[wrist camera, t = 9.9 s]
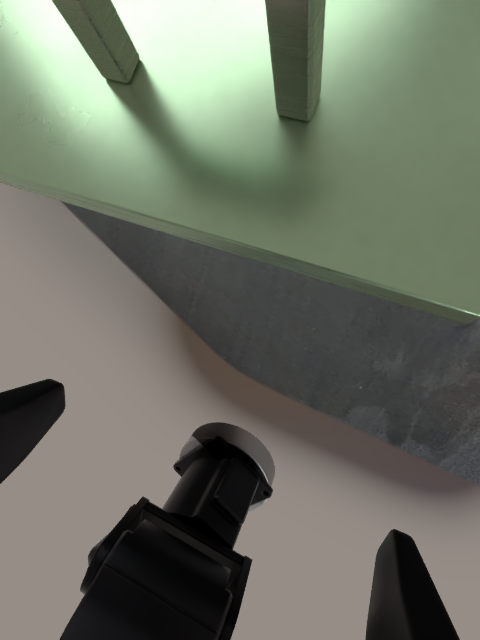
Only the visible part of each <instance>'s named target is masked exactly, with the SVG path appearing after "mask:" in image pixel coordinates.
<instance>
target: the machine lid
mask: <svg viewBox="0 0 480 640" xmlns="http://www.w3.org/2000/svg"><path fill="white" fill-rule="evenodd" d="M0 182H1V183H4V184H7V185H10V186H14V187H17V188H20V189H24V190H27V191H30V192H33V193H37V194H40V195H44V196H47V197H50V198H53V199H56V200H60V201H63V202H66V203H69V204H73V205H76V206H79V207H83V208H86V209H89V210H92V211H96V212H99V213H102V214H106V215H109V216H112V217H115V218H119V219H122V220H125V221H128V222H132V223H135V224H138V225H142V226H145V227H148V228H151V229H155V230H158V231H161V232H164V233H168V234H171V235H174V236H178V237H181V238H184V239H187V240H191V241H194V242H197V243H201V244H204V245H207V246H210V247H214V248H217V249H220V250H223V251H227V252H230V253H233V254H237V255H240V256H243V257H246V258H250V259H253V260H256V261H260V262H263V263H266V264H269V265H273V266H276V267H279V268H282V269H286V270H289V271H292V272H296V273H299V274H302V275H305V276H309V277H312V278H315V279H319V280H322V281H325V282H328V283H332V284H335V285H338V286H341V287H345V288H348V289H351V290H355V291H358V292H361V293H364V294H368V295H371V296H374V297H377V298H381V299H384V300H387V301H391V302H394V303H397V304H400V305H404V306H407V307H410V308H414V309H417V310H420V311H423V312H427V313H430V314H433V315H436V316H440V317H443V318H446V319H450V320H453V321H456V322H459V323H463V324H465V323H468V322H471V321H474V320H477V319H479V318H480V0H0Z"/></svg>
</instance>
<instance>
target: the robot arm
mask: <svg viewBox="0 0 480 640" xmlns="http://www.w3.org/2000/svg"><path fill="white" fill-rule="evenodd" d="M64 409H65V392H64V386H63V384H62V383H59V382H57V381H55V380H52V379H46V380H43V381H39V382H36V383H32V384H29V385H25V386H22V387H19V388H15V389H12V390H8V391H5V392H1V393H0V484H1V483H2V481H4V480H5V479H6V478H7V477H8V476H9V475H10V474H11V473H12V472H13V471H14V470H15V468H17V466H19V464H20V463H21V462H22V461H23V460H24V459H25V458H26V457H27V456H28V455H29V453H30V452H31V451H32V450H33V449H34V447H35V446H36V445H37V444H38V443H39V441H40V440H41V439H42V438H43V436H44V435H45V434H46V433H47V432H48V430H49V429H50V428H51V427H52V425H53V424H54V423H55V422H56V421H57V419H58V418H59V417H60V416H61V414H62V413H63V411H64ZM218 442H219V443H218ZM174 469H175V471H176V472H177V473H178V474H179V475H180V476H181V479H180V481H179V483H178V484H177V486H176V487H175V489H174V490H173V492H172V494H171V495H170V497H169V499H168V500H167V502H166V503H165V505H164V507H163V508H162V509H161V508H159V507H158V506H156V505H154V504H152V503H151V502H149V500H148V499H147V498H145V497H142V498H141V499H140V500H139V502H138V503H137V504H136V505H135V504H134V505H133V506H131V507H130V508H129V510H128V511H127V513H126V514H125V515H124V517H123V518H122V519H121V520H120V521H119V523H118V524H117V525H116V526H115V528H114V529H113V530H112V531H111V532H110V533H109V534H108V535H107V536H105V538H103V539H102V540H101V541H100V542H99V543H98V544H97V545H96V546H95V547H93V549H92V550H91V551H90V553H89V555H88V563H89V567H88V569H87V572H86V575H85V577H84V579H83V582H82V584H81V588H80V591H81V592H82V593H84V594H85V595H84V597H83V599H82V600H81V602H80V604H79V606H78V607H77V609H76V611H75V613H74V614H73V616H72V618H71V619H70V621H69V623H68V624H67V627H66V628H65V630H64V632H63V634H62V636H61V638H60V640H230V639H231V636H232V633H233V630H234V628H235V624H236V621H237V618H238V614H239V610H240V606H241V603H242V599H243V595H244V591H245V587H246V583H247V579H248V575H249V571H250V567H251V563H252V559H250V558H249V557H247V556H242V555H240V554H239V553H237V552H235V551H234V550H233V547H234V545H235V542H236V540H237V536H238V534H239V532H240V529H241V526H242V524H243V523H244V521H245V518H246V515H247V513H248V510H249V507H250V506H252V505H254V504H256V503H258V502H261V501H263V500H265V499H268V498H270V497H271V495H272V492H273V489H272V487H271V486H270V485H269V484H268V483H267V482H266V481H265V480H264V479H263V478H262V477H261V476H260V475H259V474H258V473H257V472H256V471H255V470H254V469H253V468H252V467H251V466H250V465H249V464H248V463H247V462H246V461H245V460H244V459H243V458H242V457H241V456H240V455H239V454H238V453H237V452H236V451H235V450H234V449H233V448H232V447H231V446H230V445H229V444H228V443H227V442H226V441H225V440H224V439H223V438H222V437H220V436H216V437H214V438H212V439H211V440H209V441H208V442H206V443H204V444H203V445H201V446H200V447H198V448H197V449H195V450H194V451H192V452H190V453H189V454H187V455H186V456H184V457H183V458H181V459H179V460H178V461H177V462H176V463H175V465H174ZM366 640H460V639H459V637H458V635H457V633H456V630H455V628H454V626H453V624H452V622H451V620H450V617H449V615H448V613H447V611H446V609H445V607H444V605H443V602H442V600H441V598H440V596H439V594H438V592H437V590H436V588H435V585H434V583H433V581H432V579H431V577H430V574H429V572H428V570H427V568H426V566H425V564H424V562H423V559H422V557H421V555H420V553H419V551H418V549H417V547H416V544H415V542H414V540H413V539H412V538H411V536H409V535H407V534H405V533H403V532H400V531H398V530H395V529H393V530H391V531H390V532H389V534H388V535H387V537H386V538H385V540H384V541H383V543H382V544H381V546H380V547H379V549H378V552H377V555H376V561H375V569H374V576H373V583H372V590H371V598H370V605H369V613H368V620H367V629H366Z"/></svg>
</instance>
